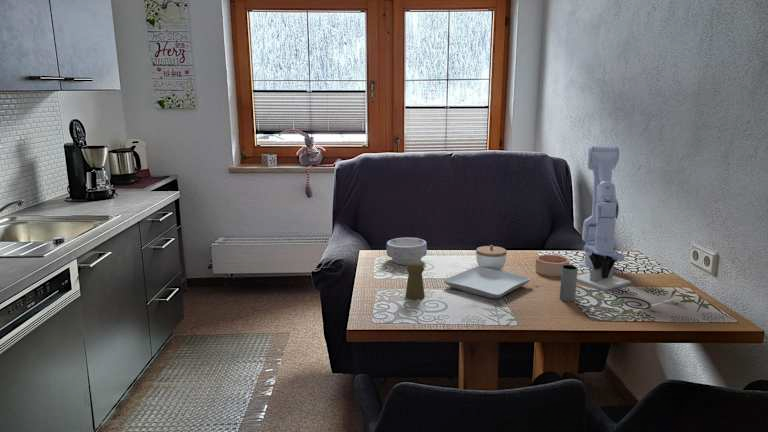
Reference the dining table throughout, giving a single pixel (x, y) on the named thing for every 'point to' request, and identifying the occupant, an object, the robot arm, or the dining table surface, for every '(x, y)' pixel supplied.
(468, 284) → the salad plate
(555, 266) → the bowl
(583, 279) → the cover
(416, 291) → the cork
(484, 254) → the lidded jar
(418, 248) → the grey round bowl
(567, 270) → the planter
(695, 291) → the dining table surface
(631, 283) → the mat
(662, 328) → the dining table surface
